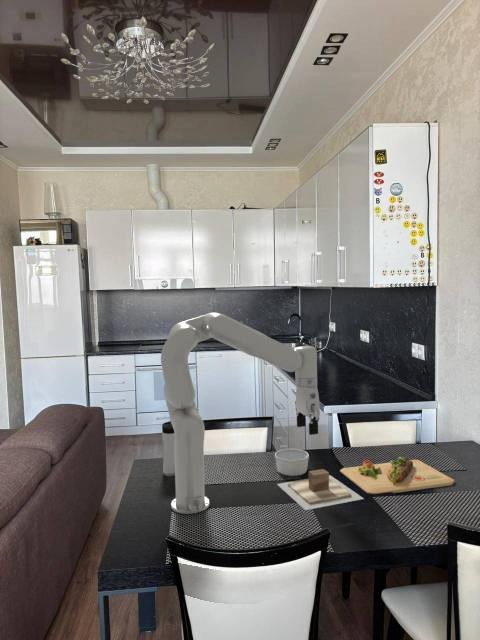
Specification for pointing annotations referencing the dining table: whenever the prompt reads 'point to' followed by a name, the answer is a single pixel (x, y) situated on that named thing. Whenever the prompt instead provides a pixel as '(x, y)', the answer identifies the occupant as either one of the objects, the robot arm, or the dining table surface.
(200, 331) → the robot arm
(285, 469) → the ramekin
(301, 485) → the oak lid
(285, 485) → the rubber mat
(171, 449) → the travel mug
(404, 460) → the cutting board
